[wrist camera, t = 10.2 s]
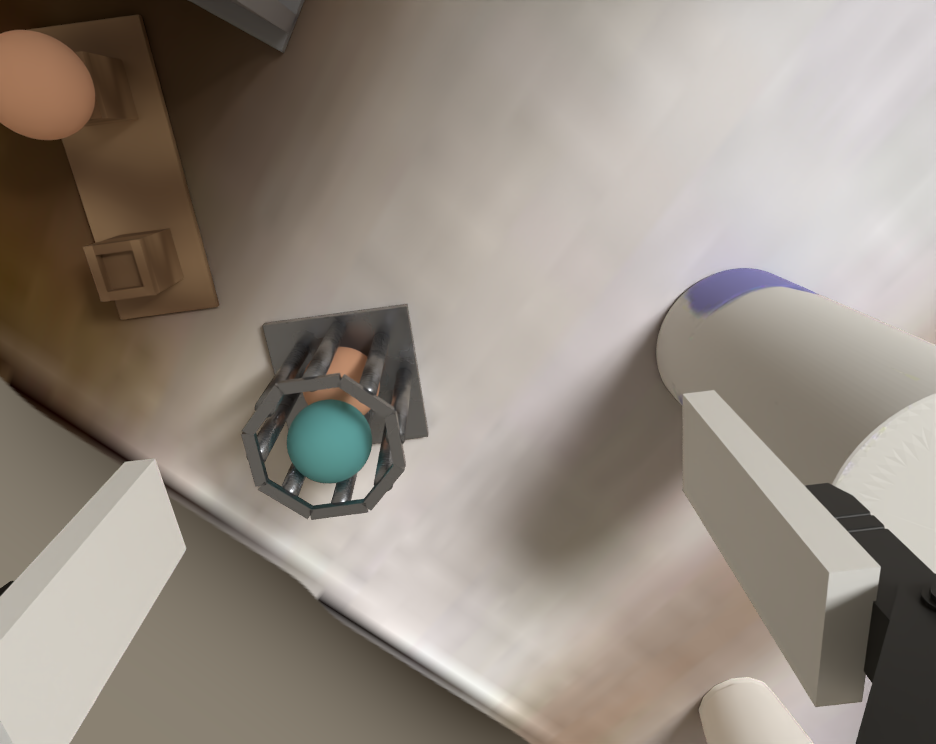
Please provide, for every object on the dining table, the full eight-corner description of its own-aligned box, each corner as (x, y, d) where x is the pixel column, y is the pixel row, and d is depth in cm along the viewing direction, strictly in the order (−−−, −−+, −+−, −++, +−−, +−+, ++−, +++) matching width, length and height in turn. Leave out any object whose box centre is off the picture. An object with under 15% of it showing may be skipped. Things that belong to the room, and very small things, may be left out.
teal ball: (273, 396, 34) (271, 484, 34) (358, 393, 34) (358, 482, 33) (306, 405, 39) (304, 483, 38) (381, 402, 38) (381, 481, 38)
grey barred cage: (265, 322, 41) (213, 380, 32) (407, 303, 41) (397, 355, 31) (296, 450, 44) (257, 536, 35) (428, 432, 44) (425, 514, 35)
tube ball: (307, 352, 42) (287, 351, 37) (379, 343, 42) (368, 340, 37) (317, 423, 42) (298, 431, 37) (388, 414, 42) (379, 420, 37)
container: (635, 398, 44) (783, 599, 25) (684, 252, 40) (895, 359, 22) (772, 424, 45) (1012, 636, 26) (831, 285, 42) (1152, 413, 23)
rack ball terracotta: (0, 44, 31) (-71, 30, 27) (95, 30, 31) (40, 14, 27) (34, 145, 33) (-27, 147, 28) (125, 133, 33) (77, 133, 28)
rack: (30, 30, 35) (-28, 17, 30) (141, 15, 35) (99, -1, 30) (123, 318, 40) (86, 340, 36) (219, 305, 40) (193, 326, 36)
